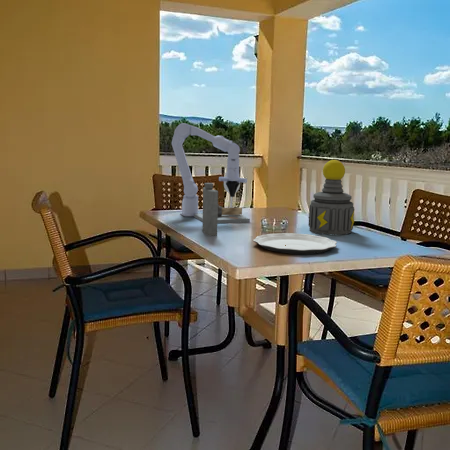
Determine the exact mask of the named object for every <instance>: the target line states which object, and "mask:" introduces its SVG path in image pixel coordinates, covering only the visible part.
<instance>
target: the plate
mask: <svg viewBox="0 0 450 450" xmlns="http://www.w3.org/2000/svg"><path fill="white" fill-rule="evenodd" d="M252 241H253V242H254V243H256V244H258V245H259V246H261V247H262V248H263V249H265V250H268V251H271V252H277V253H282V254H291V255H313V254H314V255H315V254H321V253H325V252H328V251H329V250H332V249H335V248H336V247H337V244H338V242H337V241H336V240H333V239H330V238H328V237H326V236H318V235H313V234H305V233H291V232H285V233H282V232H281V233H267V234H262V235H257V236H256V237H255V238H253V239H252ZM285 245H286V246H285Z"/></svg>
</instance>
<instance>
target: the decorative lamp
mask: <svg viewBox="0 0 450 450" xmlns="http://www.w3.org/2000/svg"><path fill="white" fill-rule="evenodd" d="M322 174H323V177H324V178H325V180H324V183H323V187H322V189H321V191H317V192H316V193H313V199H312V200H311V201H310V204H309V209H308V216H307V218H308V227H309V231H310V232H311V233H313V234H314V233H315V234H319V235H327V236H328V235H329V236H345V235H349V234H351V233H352V231H353V229H354V223H355V206H354V202H352V201H351V200H352V195H350V194H349V193H346V192H345V191H344V189H343V184H342V181H343V180H342V179H343V178H344V176H345V174H346V168H345V165H344V164H343V163H342V162H341V161H340V160H337V159H331V160H329V161H327V162H326V163H325V164H324V165H323V167H322Z"/></svg>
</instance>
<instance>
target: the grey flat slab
mask: <svg viewBox="0 0 450 450" xmlns="http://www.w3.org/2000/svg"><path fill="white" fill-rule="evenodd" d="M193 217H194V218H196V219H197V220H198V221H200V222H202V223H203V212H202V213H199V212H198V213H197V214H194V216H193ZM250 221H251V220H250V218H249V217H246V216H244V215H243V214H242V215H222V216H218V219H217V224H229V223H230V224H232V223H233V224H234V223H251V222H250Z"/></svg>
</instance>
